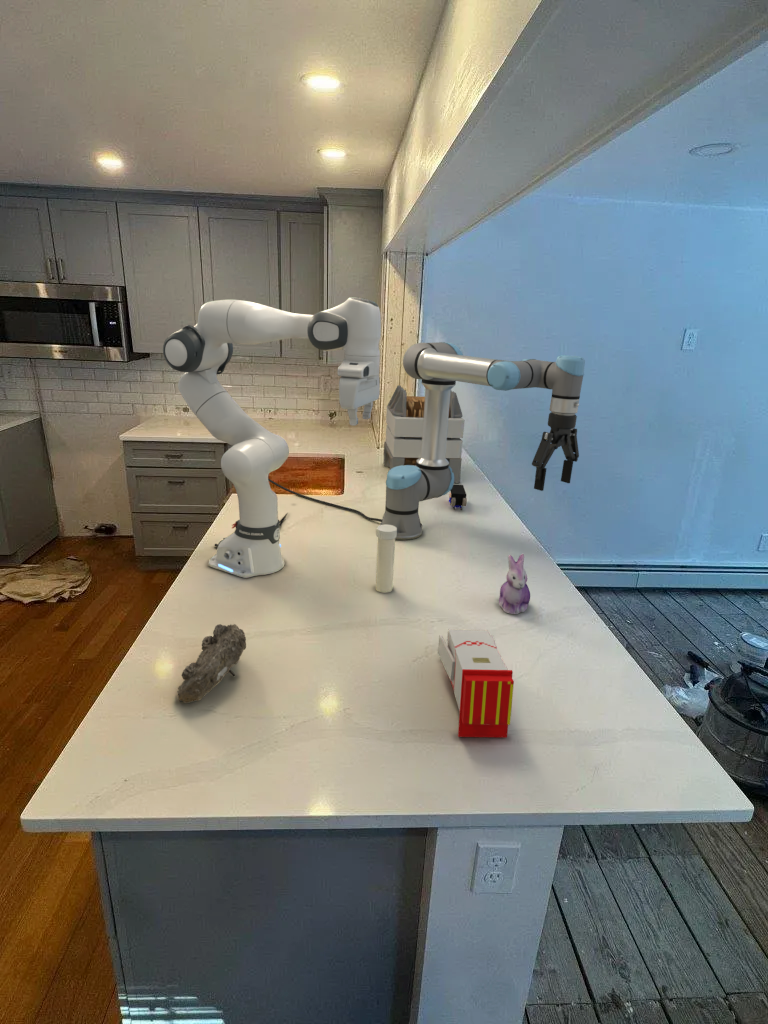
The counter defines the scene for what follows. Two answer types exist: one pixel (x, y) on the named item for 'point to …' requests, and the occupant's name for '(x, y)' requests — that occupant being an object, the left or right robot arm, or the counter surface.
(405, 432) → the grey boxy container
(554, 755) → the counter surface
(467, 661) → the toy
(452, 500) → the figurine character
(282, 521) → the feather
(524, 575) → the figurine
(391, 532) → the lid
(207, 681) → the fossil
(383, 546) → the jar
